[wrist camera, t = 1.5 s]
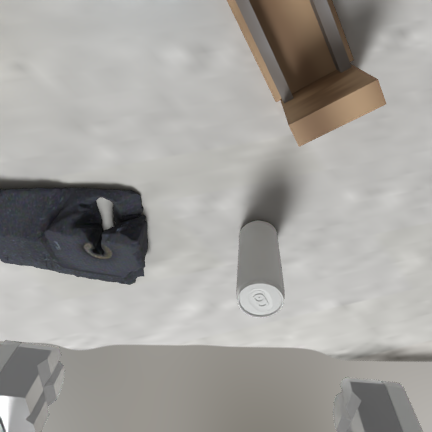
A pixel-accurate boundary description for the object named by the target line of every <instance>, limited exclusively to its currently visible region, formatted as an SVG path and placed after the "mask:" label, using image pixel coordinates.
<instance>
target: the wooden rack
mask: <svg viewBox="0 0 432 432" xmlns="http://www.w3.org/2000/svg"><path fill="white" fill-rule="evenodd" d="M227 2H228V4H229V6H230V8H231V10H232V12H233V14H234V16H235V18H236V20H237V22H238V24H239V27H240V29H241V31H242V33H243V35H244V37H245V39H246V41H247V43H248V45H249V47H250V49H251V51H252V53H253V56H254V58H255V60H256V62H257V64H258V66H259V68H260V70H261V72H262V74H263V76H264V78H265V80H266V82H267V85H268V87H269V89H270V91H271V93H272V95H273V97H274V99H275V101H276V102H278V101H279V100H281V103H282V106H283V109H284V112H285V115H286V118H287V121H288V124H289V127H290V129H291V131H292V133H293V135H294V137H295V139H296V141H297V143H298V145H299V146H301V145H304V144H306V143H308V142H310V141H312V140H314V139H316V138H318V137H320V136H322V135H324V134H326V133H328V132H330V131H332V130H334V129H336V128H338V127H340V126H342V125H344V124H346V123H349V122H351V121H353V120H355V119H357V118H359V117H361V116H363V115H365V114H367V113H369V112H371V111H373V110H375V109H377V108H379V107H381V106H383V105H385V104H386V101H385V99H384V96H383V93H382V90H381V87H380V84H379V81H378V79H376V78H374V77H373V76H371V75H369V74H367V73H366V72H364V71H362V70H360V69H359V68H357V67H355V66H353V65H352V64H351V63H350V62H351V61H353V60H354V59H353V56H352V53H351V51H350V48H349V45H348V42H347V40H346V37H345V34H344V31H343V29H342V26H341V23H340V21H339V18H338V15H337V12H336V10H335V7H334V4H333V1H332V0H227Z"/></svg>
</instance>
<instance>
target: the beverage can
mask: <svg viewBox="0 0 432 432" xmlns="http://www.w3.org/2000/svg"><path fill="white" fill-rule="evenodd" d="M236 295H237V300H238V305H239V307H240V309H241V310H242V311H243V312H244V313H246V314H247V315H250V316H252V317H257V318H265V317H270V316H272V315H275V314H276V313H278V312H279V311H280V310H281V308H282V307H283V304H284V298H285V294H284V284H283V275H282V267H281V259H280V252H279V245H278V237H277V232H276V229H275V228H274V226H272V225H271V224H270V223H268V222H265V221H252V222H249V223H248V224H246V225H245V226H244V227H243V228H242V229H241V231H240V235H239V250H238V270H237V289H236Z"/></svg>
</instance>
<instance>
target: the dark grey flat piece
mask: <svg viewBox="0 0 432 432" xmlns="http://www.w3.org/2000/svg"><path fill="white" fill-rule="evenodd" d="M99 197H103V198H105V199H108V200H110V201H112V202H113V204H114V205H113V211H114V221H115V223H116V225H115V227H111V228H110V229H108V230H105V231H103V229H102V227H101V222H102V219H101V215H100V212H99V209H98V207H97V203H96V200H97V199H98V198H99ZM140 198H141V197H140V195H138V194H136V193H135V192H133V191H132V190H130V191H129V190H124V191H121V190H115V189H113V190H106V189H91V188H62V189H60V188H53V189H45V188H35V189H28V188H23V189H9V190H1V189H0V259H1V261H2V262H4V263H10V264H17V265H26V266H34V267H36V268H41V269H48V270H52V271H56V272H59V273H64V274H71V275H75V276H77V277H86V278H89V279H99V280H102V281H108V282H118V283H121V284H128V285H130V284H133V283H135V282H136V280H135V279H136V278H137V277H139V276H144V270H143V268H144V267H145V261H144V260H145V255H146V253H147V247H148V238H147V222H146V221H145V220H144V219H145V216H142V215H141V213H142V212H143V207H141V200H140ZM136 214H139V215H136ZM138 216H140V217H138Z"/></svg>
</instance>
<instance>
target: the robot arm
mask: <svg viewBox="0 0 432 432" xmlns="http://www.w3.org/2000/svg"><path fill="white" fill-rule="evenodd" d="M60 357H61V351H60V347H55V346H47V345H39V344H32V343H24V342H16V341H7V340H5V341H4V342H3V343H1V344H0V432H41V431H42V429H43V427H44V425H45V423H46V421H47V419H48V417H49V411H48V406H49V405H50V404H52V403H53V402H54V401H56V400H57V398H58V396H59V393H60V391H61V389H62V385H63V382H64V375H65V373H64V372H65V371H64V365H63V364H62V363H61V362H60V361H59V358H60ZM341 389H342V392H341V393H339V394H337V395H336V398H335V401H334V409H333V415H334V423H335V428H336V431H337V432H423V430H422V428H421V426H420V423H419V421H418V419H417V417H416V414H415V412H414V410H413V407H412V405H411V403H410V401H409V398H408V396H407V394H406V391H405V389H404V387H403V386H402V385H401V384H400V383H397V382H386V381H380V380H370V379H360V378H349V377H345V378H344V379H343V380H342V382H341Z"/></svg>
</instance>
